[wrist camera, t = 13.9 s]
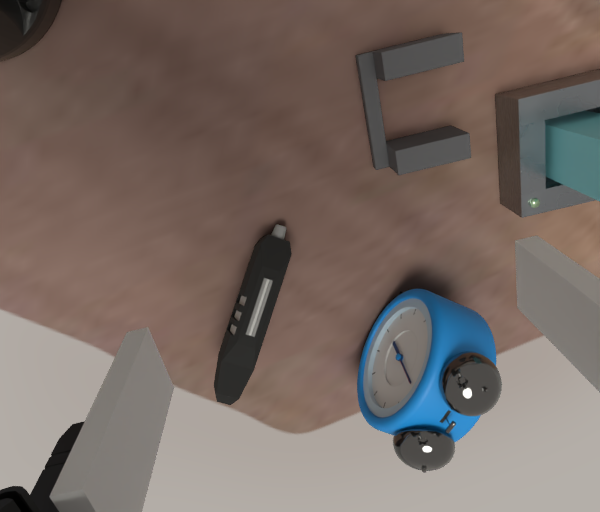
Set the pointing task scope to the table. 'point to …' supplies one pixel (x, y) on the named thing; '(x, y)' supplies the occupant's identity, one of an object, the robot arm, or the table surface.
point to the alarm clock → (427, 376)
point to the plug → (574, 151)
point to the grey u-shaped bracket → (398, 63)
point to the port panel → (538, 141)
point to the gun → (251, 315)
